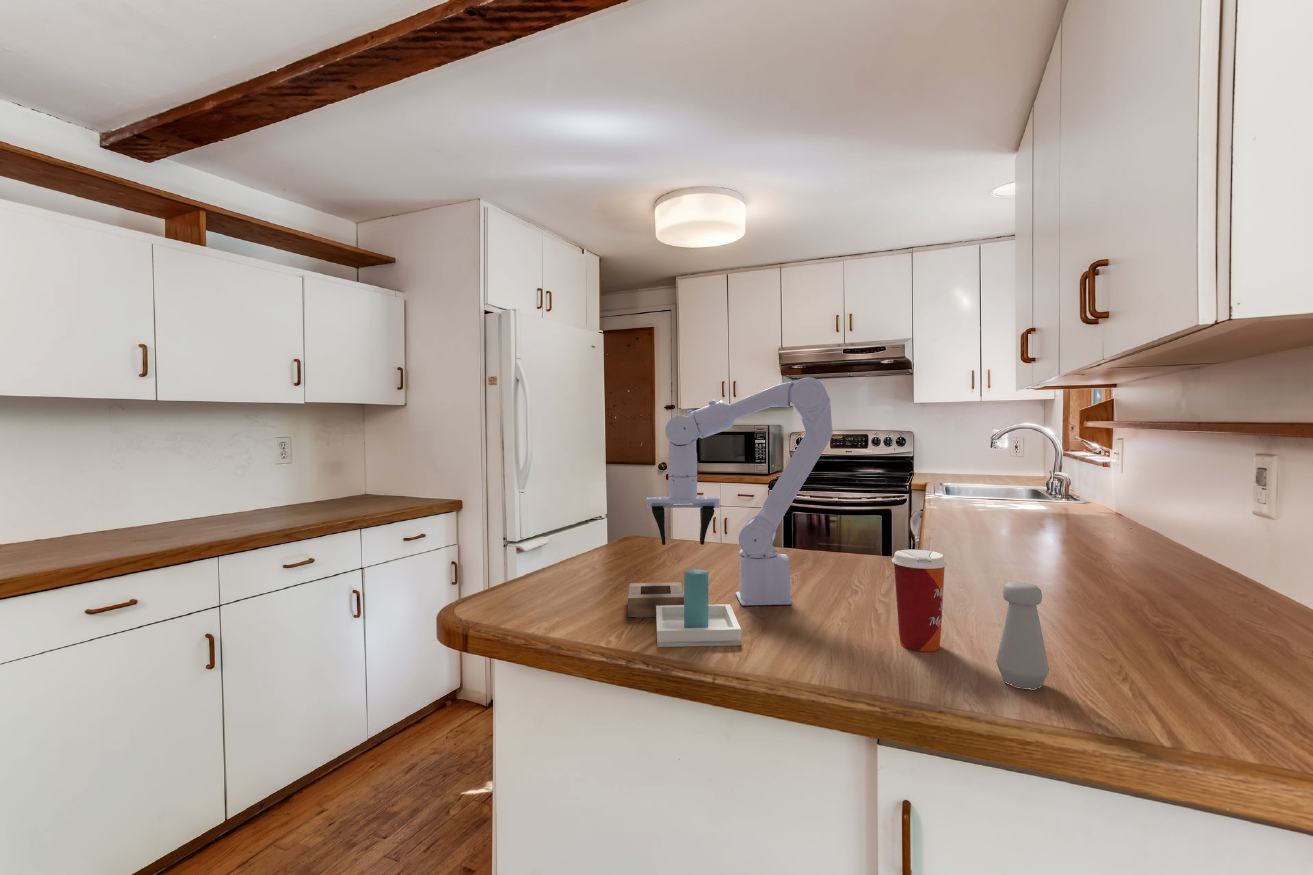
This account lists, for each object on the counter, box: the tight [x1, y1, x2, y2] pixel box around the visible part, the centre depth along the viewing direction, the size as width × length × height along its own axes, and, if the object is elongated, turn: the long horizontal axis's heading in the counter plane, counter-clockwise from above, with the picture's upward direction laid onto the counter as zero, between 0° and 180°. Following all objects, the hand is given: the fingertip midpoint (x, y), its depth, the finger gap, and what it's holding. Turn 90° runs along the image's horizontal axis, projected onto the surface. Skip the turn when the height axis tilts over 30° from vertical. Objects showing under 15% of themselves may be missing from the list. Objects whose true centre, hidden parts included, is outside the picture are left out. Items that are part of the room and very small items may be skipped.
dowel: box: [683, 568, 709, 628], centre depth 99 cm, size 4×4×9 cm
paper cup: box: [891, 549, 948, 653], centre depth 91 cm, size 8×8×14 cm
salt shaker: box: [995, 581, 1050, 689], centre depth 77 cm, size 6×6×13 cm
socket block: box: [627, 581, 684, 618], centre depth 112 cm, size 10×10×4 cm
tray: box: [655, 603, 742, 648], centre depth 99 cm, size 13×13×2 cm
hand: (682, 543), depth 120 cm, fingers open, 7 cm apart
